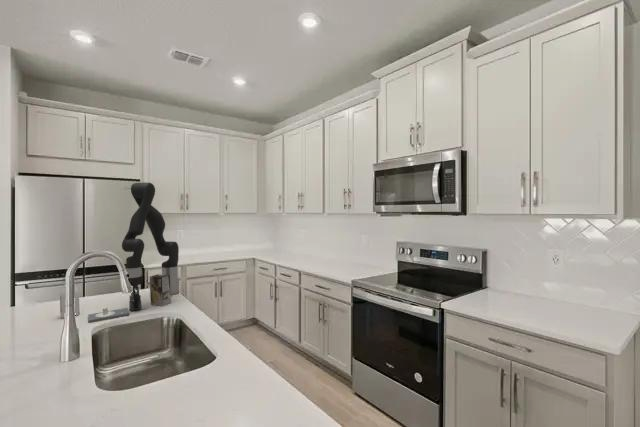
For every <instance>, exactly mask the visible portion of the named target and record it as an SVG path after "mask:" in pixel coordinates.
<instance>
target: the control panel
mask: <svg viewBox="0 0 640 427" xmlns="http://www.w3.org/2000/svg"><path fill="white" fill-rule="evenodd" d="M129 316H130V311H129V308H128V307H124V308H118V309H113V310H109V307H103V308H102V311H101V312H94V313H90V314H88V315H87V317H88V318H87V319H88V320H87V321H88V323H87V324H90V323H91V324H92V323H95V322H100V321H101V322H103V321H108V320H113V319H118V318H122V317H129Z"/></svg>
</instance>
